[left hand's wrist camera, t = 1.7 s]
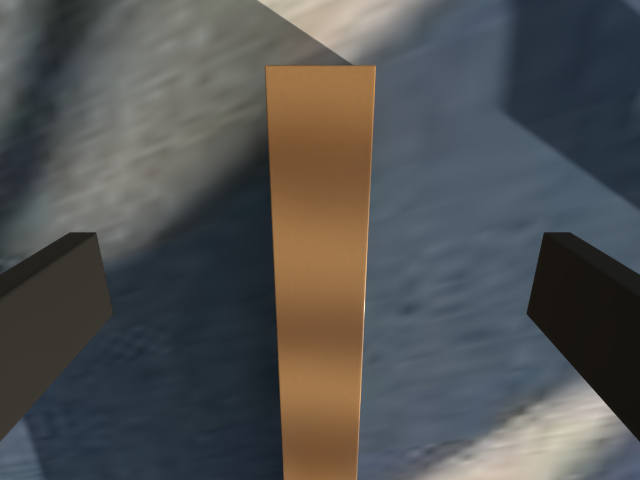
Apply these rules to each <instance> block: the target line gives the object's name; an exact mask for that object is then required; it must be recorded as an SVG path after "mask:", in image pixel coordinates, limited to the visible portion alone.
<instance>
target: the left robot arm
mask: <svg viewBox="0 0 640 480" xmlns="http://www.w3.org/2000/svg"><path fill="white" fill-rule="evenodd" d="M112 315H113V310H112V305H111V300H110V296H109V291H108V286H107V281H106V277H105V272H104V267H103V263H102V258H101V253H100V249H99V244H98V239H97V235H96V232H70V233H68V234H67V235H65V236H63V237H62V238H60V239H58V240H57V241H55V242H53V243H52V244H50V245H48V246H47V247H45V248H43V249H42V250H40V251H39V252H37V253H35V254H34V255H32V256H30V257H29V258H27V259H25V260H24V261H22V262H20V263H19V264H17V265H16V266H14V267H12V268H11V269H9V270H7V271H6V272H4V273H2V274H1V275H0V441H1V440H2V439H3V438H4V437H5V436H6V435H7V434H8V432H9V431H10V430H11V429H12V428H13V427H14V426H15V424H16V423H17V422H18V421H19V420H20V419H21V418H22V417H23V415H24V414H25V413H26V412H27V411H28V410H29V409H30V408H31V406H32V405H33V404H34V403H35V402H36V401H37V400H38V399H39V397H40V396H41V395H42V394H43V393H44V392H45V391H46V389H47V388H48V387H49V386H50V385H51V384H52V383H53V382H54V380H55V379H56V378H57V377H58V376H59V375H60V374H61V373H62V371H63V370H64V369H65V368H66V367H67V366H68V365H69V363H70V362H71V361H72V360H73V359H74V358H75V357H76V356H77V354H78V353H79V352H80V351H81V350H82V349H83V348H84V347H85V345H86V344H87V343H88V342H89V341H90V340H91V339H92V338H93V336H94V335H95V334H96V333H97V332H98V331H99V330H100V328H101V327H102V326H103V325H104V324H105V323H106V322H107V321H108V319H109V318H110V317H111V316H112ZM527 315H528V316H529V317H530V318H531V319H532V321H533V322H534V323H535V324H536V325H537V326H538V327H539V328H540V330H541V331H542V332H543V333H544V334H545V335H546V336H547V338H548V339H549V340H550V341H551V342H552V343H553V344H554V345H555V347H556V348H557V349H558V350H559V351H560V352H561V353H562V354H563V356H564V357H565V358H566V359H567V360H568V361H569V362H570V363H571V365H572V366H573V367H574V368H575V369H576V370H577V371H578V373H579V374H580V375H581V376H582V377H583V378H584V379H585V380H586V382H587V383H588V384H589V385H590V386H591V387H592V388H593V389H594V391H595V392H596V393H597V394H598V395H599V396H600V397H601V399H602V400H603V401H604V402H605V403H606V404H607V405H608V406H609V408H610V409H611V410H612V411H613V412H614V413H615V414H616V415H617V417H618V418H619V419H620V420H621V421H622V422H623V423H624V424H625V426H626V427H627V428H628V429H629V430H630V431H631V432H632V434H633V435H634V436H635V437H636V438H637V439H638V440H639V441H640V275H639V274H638V273H636V272H634V271H633V270H631V269H629V268H628V267H626V266H624V265H623V264H621V263H620V262H618V261H616V260H615V259H613V258H611V257H610V256H608V255H606V254H605V253H603V252H601V251H600V250H598V249H597V248H595V247H593V246H592V245H590V244H588V243H587V242H585V241H583V240H582V239H580V238H578V237H577V236H575V235H573V234H572V233H570V232H544V235H543V239H542V244H541V249H540V253H539V258H538V263H537V267H536V272H535V277H534V281H533V286H532V291H531V296H530V300H529V305H528V310H527Z"/></svg>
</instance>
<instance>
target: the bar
mask: <svg viewBox="0 0 640 480" xmlns="http://www.w3.org/2000/svg"><path fill="white" fill-rule="evenodd" d="M375 71H376V66H375V65H265V81H266V103H267V125H268V147H269V169H270V191H271V213H272V235H273V257H274V279H275V301H276V323H277V345H278V367H279V389H280V411H281V433H282V455H283V477H284V480H357V462H358V441H359V419H360V397H361V375H362V354H363V332H364V310H365V288H366V267H367V245H368V223H369V201H370V180H371V158H372V136H373V114H374V93H375Z"/></svg>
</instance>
